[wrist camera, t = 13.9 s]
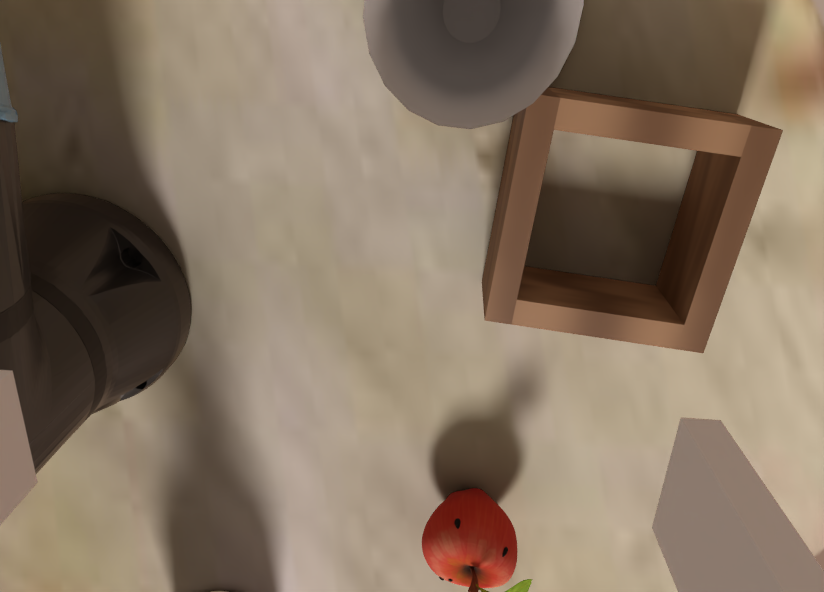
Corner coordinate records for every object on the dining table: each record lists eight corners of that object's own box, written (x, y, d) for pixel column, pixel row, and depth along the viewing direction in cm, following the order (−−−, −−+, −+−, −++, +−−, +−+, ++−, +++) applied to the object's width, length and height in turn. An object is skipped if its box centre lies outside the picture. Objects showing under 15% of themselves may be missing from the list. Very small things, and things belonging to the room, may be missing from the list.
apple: (471, 550, 53) (473, 661, 44) (408, 505, 52) (396, 609, 43) (538, 496, 50) (554, 602, 41) (473, 447, 49) (475, 545, 40)
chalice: (432, -80, 35) (397, -160, 18) (551, -42, 35) (622, -88, 19) (397, 59, 38) (340, 95, 21) (507, 92, 38) (534, 154, 22)
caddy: (481, 282, 44) (484, 320, 38) (519, 82, 38) (529, 93, 33) (672, 310, 43) (703, 353, 38) (736, 114, 38) (783, 130, 33)
